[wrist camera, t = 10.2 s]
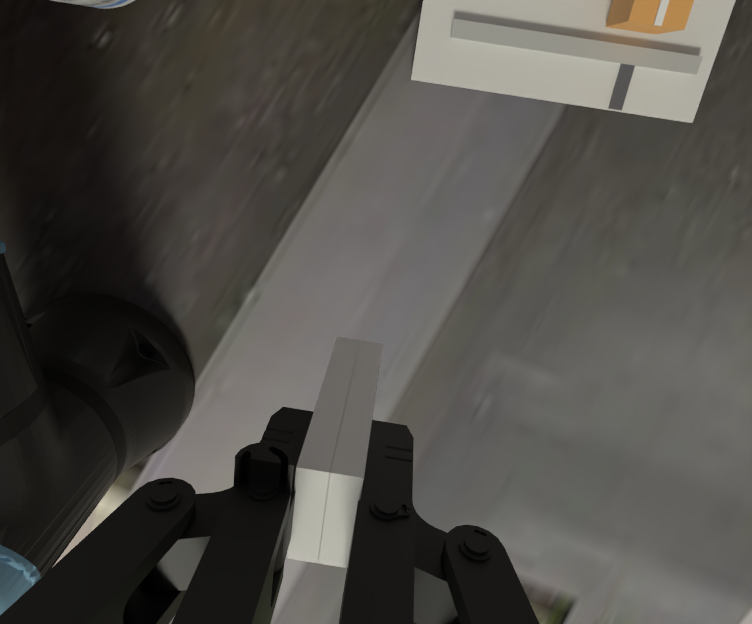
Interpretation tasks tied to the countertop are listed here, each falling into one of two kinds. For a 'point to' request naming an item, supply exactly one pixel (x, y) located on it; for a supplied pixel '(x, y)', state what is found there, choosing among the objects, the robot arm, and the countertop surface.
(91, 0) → the supplement tub
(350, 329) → the countertop surface
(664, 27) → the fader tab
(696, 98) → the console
